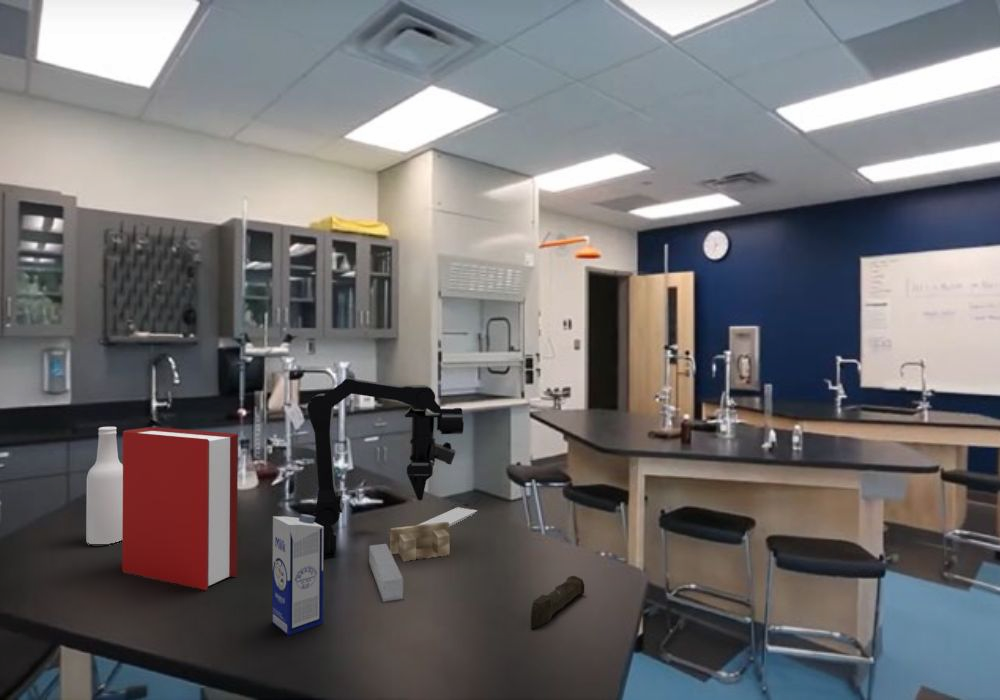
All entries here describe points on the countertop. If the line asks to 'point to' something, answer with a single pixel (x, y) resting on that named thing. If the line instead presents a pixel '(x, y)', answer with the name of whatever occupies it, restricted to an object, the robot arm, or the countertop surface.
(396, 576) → the rail
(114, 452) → the alcohol
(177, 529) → the book
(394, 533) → the beige studded block
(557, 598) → the dark brown lumpy bar
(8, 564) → the countertop surface
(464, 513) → the baseboard
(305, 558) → the milk carton
